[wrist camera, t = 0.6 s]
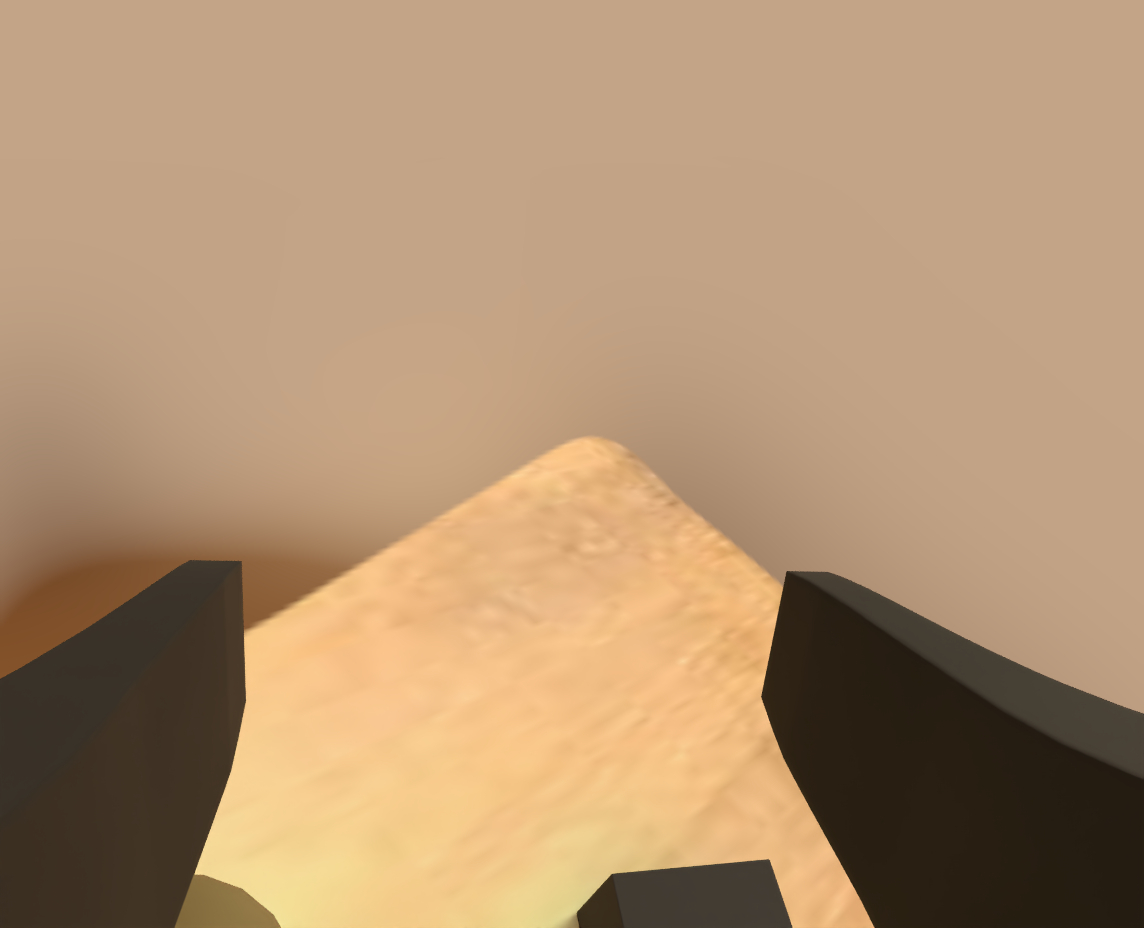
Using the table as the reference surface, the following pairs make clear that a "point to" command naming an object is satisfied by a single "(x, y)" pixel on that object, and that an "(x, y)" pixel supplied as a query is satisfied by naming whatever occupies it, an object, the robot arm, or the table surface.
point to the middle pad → (689, 898)
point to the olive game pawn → (221, 907)
